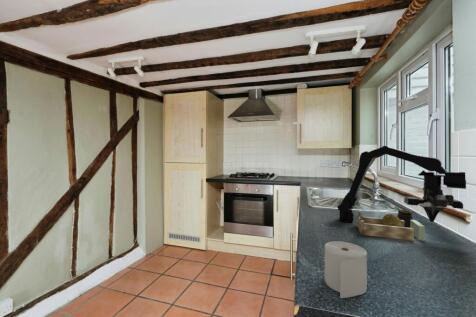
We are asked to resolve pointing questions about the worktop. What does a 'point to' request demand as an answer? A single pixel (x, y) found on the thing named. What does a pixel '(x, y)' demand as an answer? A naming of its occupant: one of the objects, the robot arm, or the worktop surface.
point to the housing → (383, 228)
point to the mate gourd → (405, 217)
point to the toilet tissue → (346, 268)
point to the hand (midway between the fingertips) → (431, 222)
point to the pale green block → (418, 229)
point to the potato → (391, 220)
